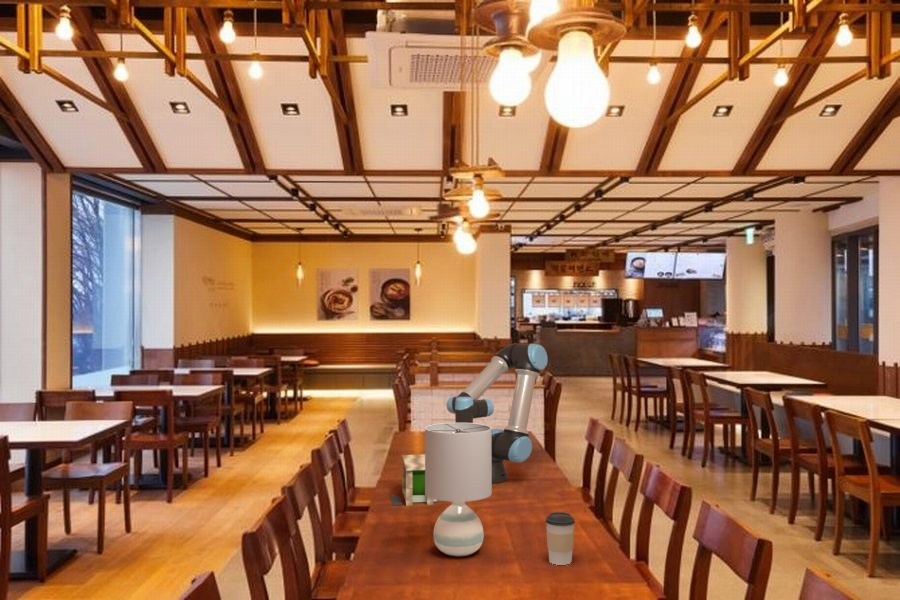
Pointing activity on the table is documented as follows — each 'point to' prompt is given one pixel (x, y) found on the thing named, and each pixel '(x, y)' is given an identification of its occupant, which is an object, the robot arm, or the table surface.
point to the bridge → (407, 466)
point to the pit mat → (396, 500)
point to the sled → (418, 498)
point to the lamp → (458, 482)
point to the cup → (418, 482)
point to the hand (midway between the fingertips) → (464, 489)
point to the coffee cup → (560, 537)
